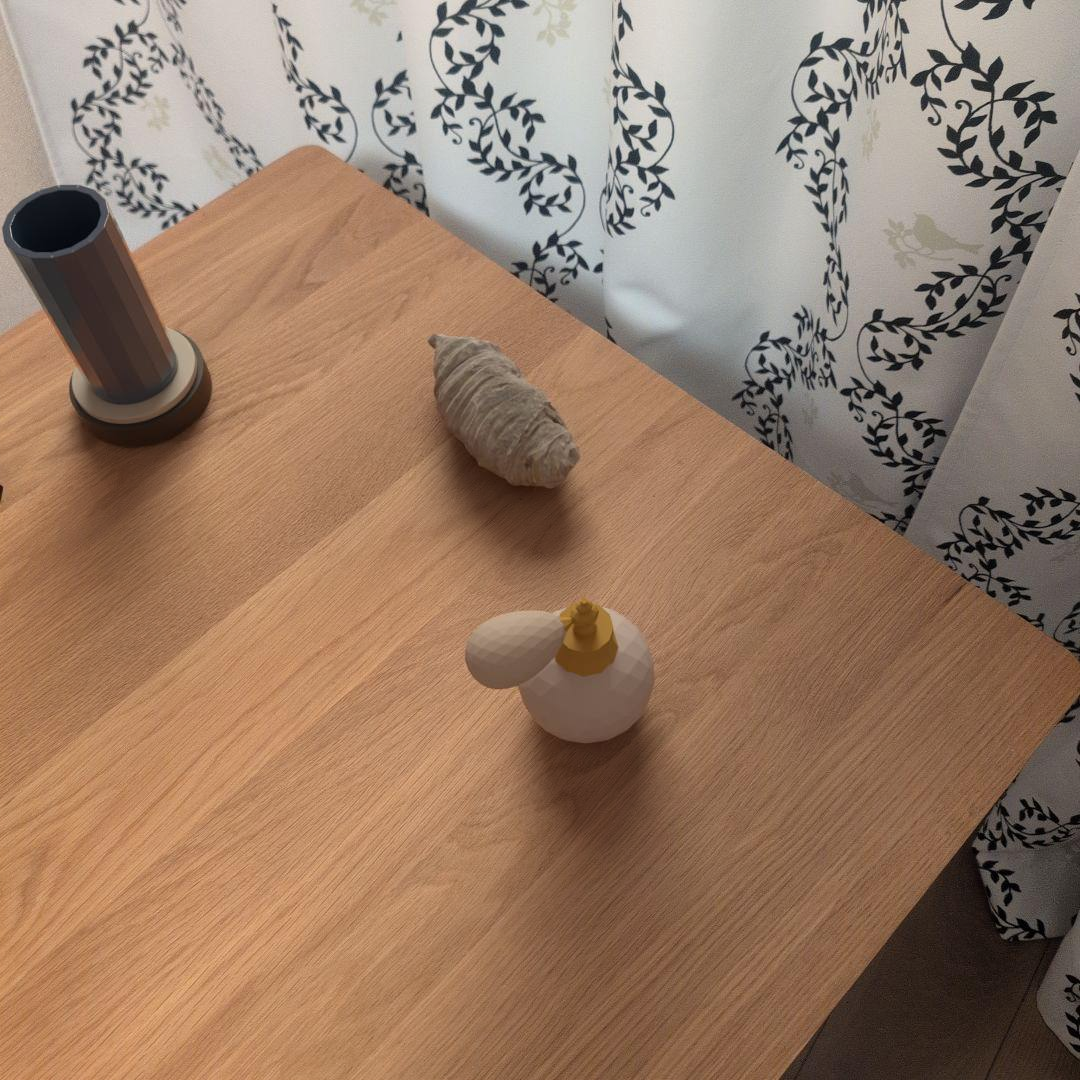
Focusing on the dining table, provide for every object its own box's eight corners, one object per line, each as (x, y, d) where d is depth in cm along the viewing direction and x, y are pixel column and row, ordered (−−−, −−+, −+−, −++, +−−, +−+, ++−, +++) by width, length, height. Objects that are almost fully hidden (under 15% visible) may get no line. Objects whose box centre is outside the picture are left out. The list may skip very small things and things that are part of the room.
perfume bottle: (678, 690, 66) (693, 586, 55) (570, 819, 62) (565, 733, 52) (576, 617, 68) (572, 505, 58) (467, 737, 65) (442, 640, 54)
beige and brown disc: (97, 466, 76) (82, 442, 73) (67, 372, 80) (52, 347, 78) (228, 417, 77) (217, 393, 75) (191, 328, 82) (180, 302, 80)
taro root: (478, 312, 78) (472, 270, 70) (591, 476, 76) (598, 453, 68) (399, 363, 77) (384, 327, 69) (511, 529, 76) (509, 512, 68)
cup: (168, 405, 75) (94, 258, 64) (78, 404, 75) (-11, 258, 64) (186, 335, 78) (119, 184, 67) (100, 335, 78) (19, 184, 67)
